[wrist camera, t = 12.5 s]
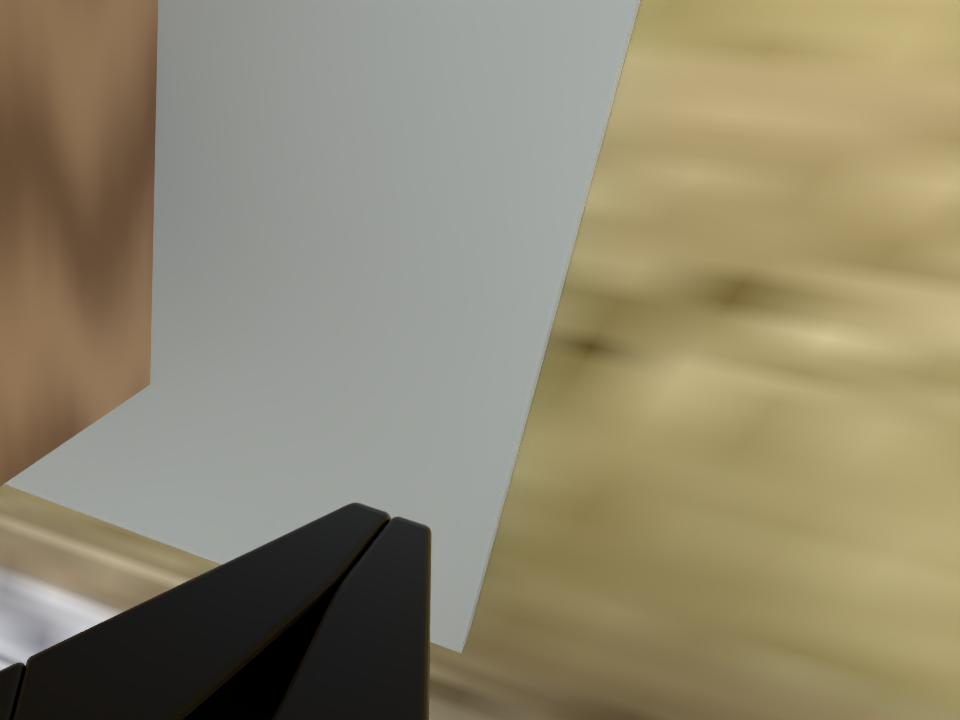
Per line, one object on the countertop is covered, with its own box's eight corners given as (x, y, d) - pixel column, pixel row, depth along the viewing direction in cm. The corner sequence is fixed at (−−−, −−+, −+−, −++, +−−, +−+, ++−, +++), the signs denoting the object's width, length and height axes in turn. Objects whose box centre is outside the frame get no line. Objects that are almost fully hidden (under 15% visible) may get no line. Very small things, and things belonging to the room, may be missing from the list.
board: (469, 632, 22) (461, 653, 21) (-78, 432, 25) (-102, 445, 24) (749, -402, 12) (751, -427, 11) (-217, -551, 15) (-263, -578, 14)
